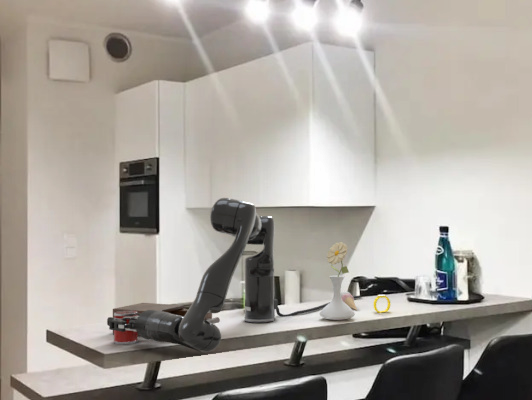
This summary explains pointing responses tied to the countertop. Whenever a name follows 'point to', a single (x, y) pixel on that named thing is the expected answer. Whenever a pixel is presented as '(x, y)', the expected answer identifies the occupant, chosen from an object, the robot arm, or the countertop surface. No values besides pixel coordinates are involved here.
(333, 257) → the flower in vase
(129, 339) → the tin can
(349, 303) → the ice cream cone
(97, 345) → the countertop surface
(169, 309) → the cabinet
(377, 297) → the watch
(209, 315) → the drawer
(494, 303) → the countertop surface
